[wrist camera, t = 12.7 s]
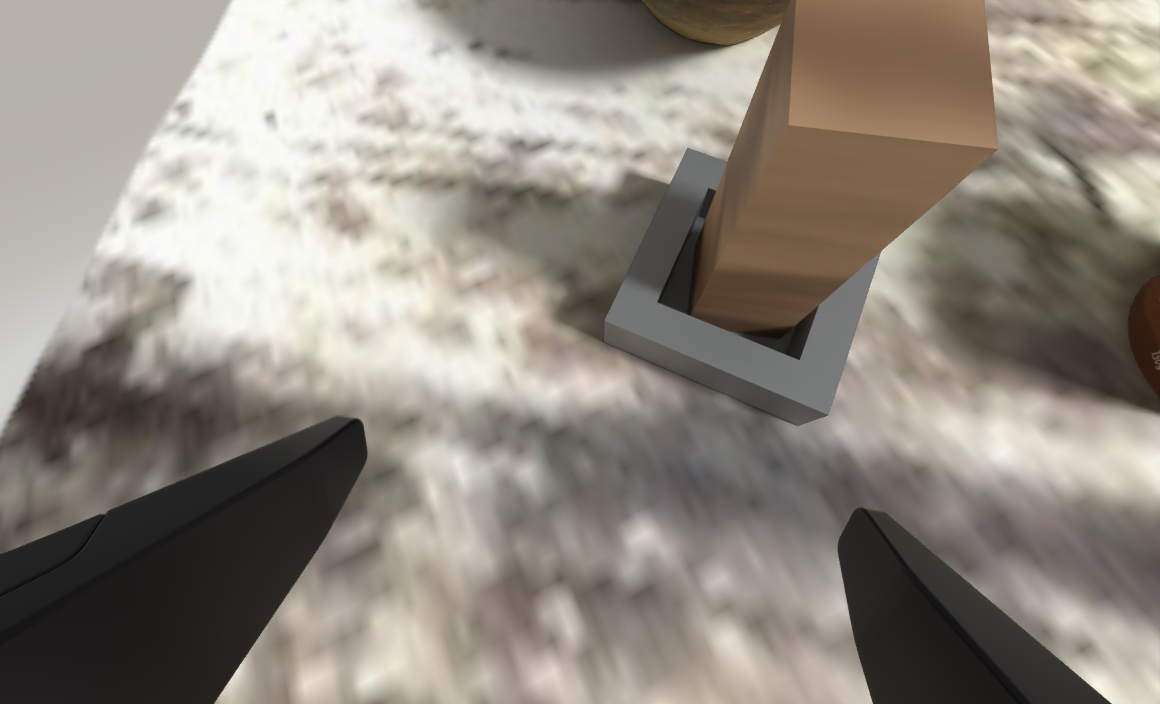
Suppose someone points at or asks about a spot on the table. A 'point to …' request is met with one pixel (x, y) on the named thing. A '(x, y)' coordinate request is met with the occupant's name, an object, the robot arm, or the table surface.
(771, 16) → the bowl
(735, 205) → the tall wooden post
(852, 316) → the socket
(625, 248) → the table surface
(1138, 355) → the food container
